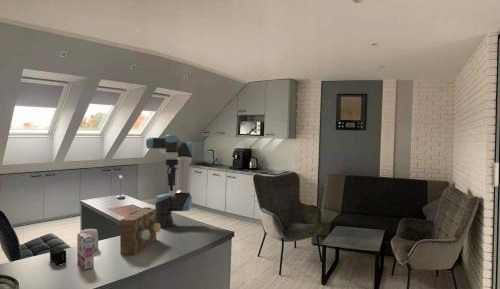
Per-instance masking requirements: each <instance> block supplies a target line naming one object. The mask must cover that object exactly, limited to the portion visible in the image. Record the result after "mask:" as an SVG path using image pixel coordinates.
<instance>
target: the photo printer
mask: <svg viewBox="0 0 500 289" xmlns="http://www.w3.org/2000/svg"><path fill="white" fill-rule="evenodd" d="M84 232H87V233H89V234H90V235H92V236H94V251H95V250H96V251H97V250H99V232H98V229H95V228H85V229H82V230H80V231H79V233H84Z"/></svg>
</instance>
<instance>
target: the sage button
mask: <svg viewBox="0 0 500 289" xmlns="http://www.w3.org/2000/svg"><path fill="white" fill-rule="evenodd" d="M149 236H150V231H149V230H142V231H141V234H140V238H141V239H143V240H148V238H149Z"/></svg>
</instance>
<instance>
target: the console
mask: <svg viewBox="0 0 500 289" xmlns="http://www.w3.org/2000/svg"><path fill="white" fill-rule="evenodd" d="M119 221H120V223H119V226H120V227H119V230H120V231H119V232H120V236H119V237H120V239H119V240H120V244H119V246H120V248H119V249H120V254H122V255H123V256H135V255H136V254H138V253H139V252H141V251H142V250H143V249H145V248H147V246H149V245H151V244H152V243H153V242H155V241H157V232H152V225H153V224H154V223H156V209H155V208H143V209H140V210H139V211H137V212H134V213H132V214H129V215H127V216H125V217H124V218H120V220H119ZM142 230H149V231H150V236H149V238H148V240H143V239H141V238H140V234H141V231H142ZM122 255H121V256H122Z"/></svg>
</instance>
